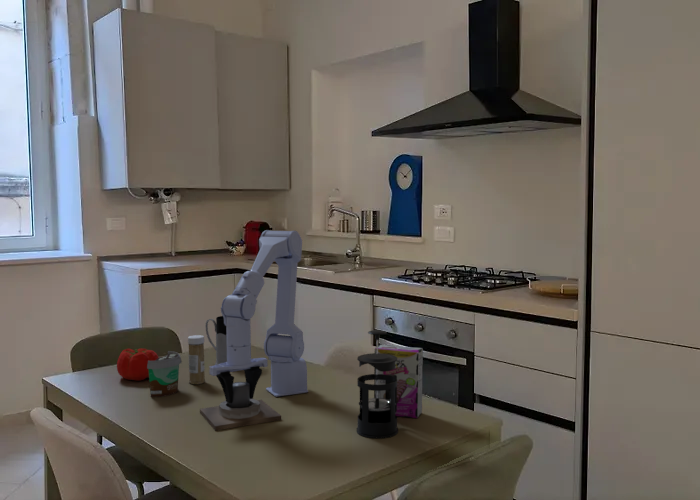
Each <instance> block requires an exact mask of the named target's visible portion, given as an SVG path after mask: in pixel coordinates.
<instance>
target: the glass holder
mask: <svg viewBox="0 0 700 500" xmlns="http://www.w3.org/2000/svg"><path fill="white" fill-rule="evenodd" d="M210 321H212V323H213V326H214V332H215V340H216V341H215V344H214V343H213V341H212V339H211V337H210V334H209V330H208V329H209V328H208V327H209V326H208V325H209V324H208V323H209V322H210ZM205 332H206V333H205V334H206V337H207V339H208V342H209V343H210V345H211V346H212V348H214V350H215V351H216V353H215V357H216V360H215V364H214V365H218V364H221V363H225V362H227V332H226V325H225V324H224V318H223V316H222V315H220V316H217V317H216V319H214V318H209V319H207V320H206V322H205Z"/></svg>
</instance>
